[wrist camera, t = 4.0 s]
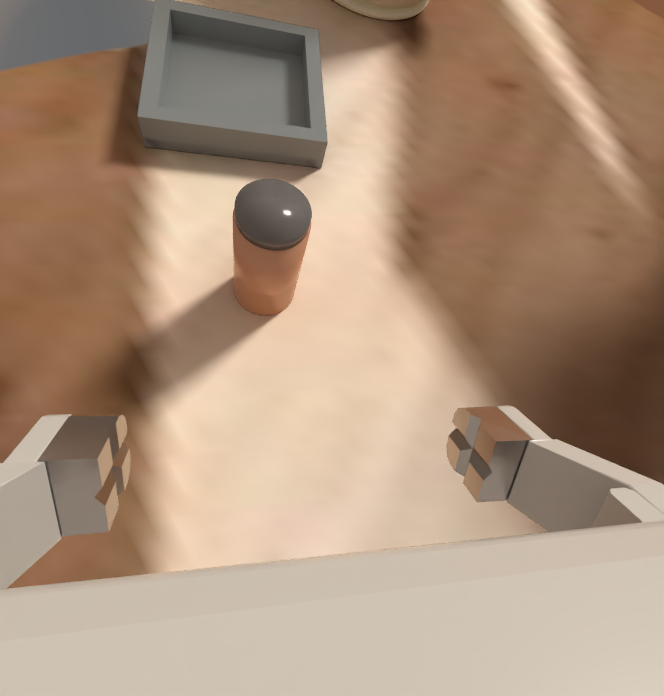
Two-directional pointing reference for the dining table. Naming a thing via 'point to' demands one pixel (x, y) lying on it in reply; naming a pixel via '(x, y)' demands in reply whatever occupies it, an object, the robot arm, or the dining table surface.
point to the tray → (232, 86)
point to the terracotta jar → (269, 244)
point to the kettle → (385, 8)
